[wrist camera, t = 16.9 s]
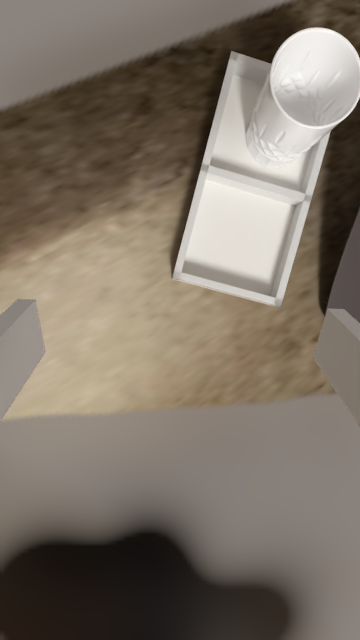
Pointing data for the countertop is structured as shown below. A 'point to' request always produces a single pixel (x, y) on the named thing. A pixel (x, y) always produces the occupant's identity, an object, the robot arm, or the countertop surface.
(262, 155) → the white cup
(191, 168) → the countertop surface
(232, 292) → the white divided tray
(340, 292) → the portable electronic device stand
